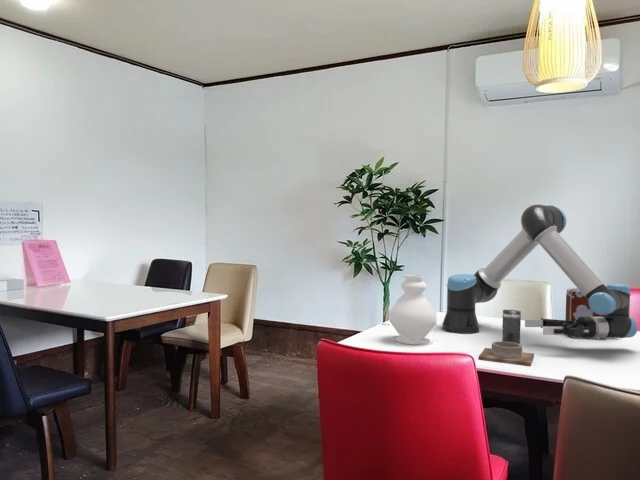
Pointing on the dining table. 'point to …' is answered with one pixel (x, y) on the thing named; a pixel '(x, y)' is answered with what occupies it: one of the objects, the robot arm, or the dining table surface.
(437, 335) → the dining table surface
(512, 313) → the tube
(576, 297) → the cine camera
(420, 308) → the decorative vase
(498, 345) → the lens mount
